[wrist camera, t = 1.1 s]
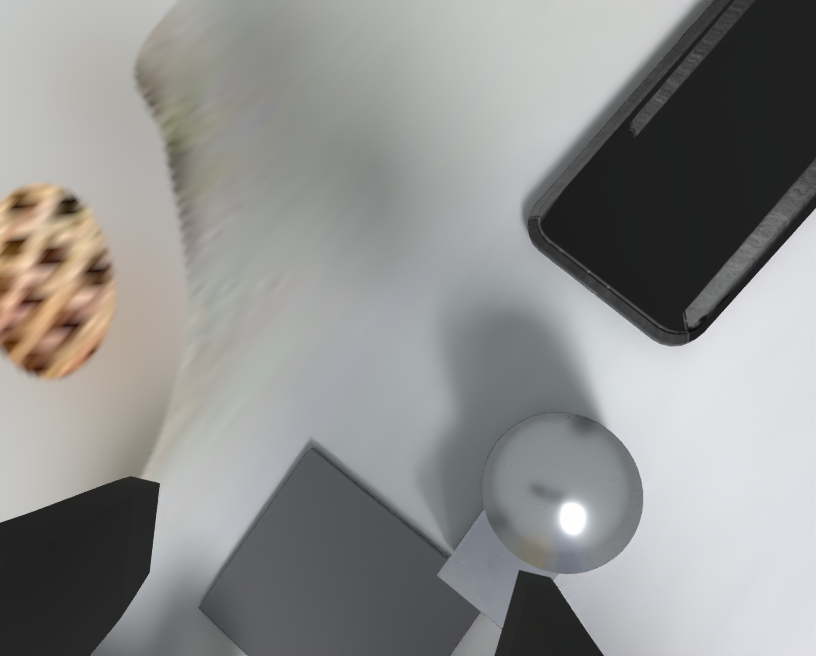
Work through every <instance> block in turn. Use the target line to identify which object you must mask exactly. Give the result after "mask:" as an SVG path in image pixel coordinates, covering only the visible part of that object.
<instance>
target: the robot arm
mask: <svg viewBox="0 0 816 656" xmlns="http://www.w3.org/2000/svg"><path fill="white" fill-rule="evenodd" d="M159 487H160V483H156V482H152V481H148V480H144V479H140V478H136V477H127V478H123V479H120V480H117V481H114V482H111V483H108V484H105V485H103V486H100V487H97V488H95V489H92V490H89V491H87V492H84V493H81V494H79V495H76V496H74V497H71V498H68V499H65V500H63V501H60V502H57V503H55V504H52V505H50V506H47V507H44V508H42V509H39V510H36V511H33V512H31V513H28V514H25V515H22V516H19V517H16V518H13V519H10V520H7V521H4V522H1V523H0V656H90V655H91V654H92V652H93V651H94V650H95V649H96V647H97V646H98V645H99V644H100V643H101V641H102V640H103V639H104V638H105V637H106V635H107V634H108V633H109V632H110V631H111V629H112V628H113V627H114V626H115V624H116V623H117V622H118V621H119V619H120V618H121V617H122V615H123V614H124V612H125V610H126V609H127V607H128V606H129V604H130V603H131V601H132V600H133V598H134V597H135V595H136V594H137V592H138V590H139V589H140V587H141V586H142V584H143V582H144V581H145V579H146V578H147V576H148V574H149V573H150V564H151V556H152V547H153V539H154V530H155V521H156V513H157V504H158V495H159ZM495 656H604V655H603V654H602V652H601V651H600V650H599V648H598V647H597V645H596V644H595V643H594V641H593V640H592V638H591V637H590V635H589V634H588V632H587V631H586V630H585V628H584V627H583V625H582V624H581V622H580V621H579V619H578V618H577V616H576V615H575V613H574V612H573V610H572V609H571V607H570V606H569V604H568V603H567V601H566V600H565V598H564V597H563V595H562V593H561V592H560V590H559V589H558V587H557V586H556V584H555V583H554V582H553V580H552V579H551V577H547V576H543V575H539V574H534V573H530V572H526V571H522V570H519V572H518V575H517V579H516V582H515V586H514V589H513V593H512V596H511V600H510V604H509V607H508V611H507V614H506V618H505V621H504V625H503V628H502V632H501V635H500V639H499V643H498V646H497V650H496V653H495Z"/></svg>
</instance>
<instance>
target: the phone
mask: <svg viewBox="0 0 816 656" xmlns="http://www.w3.org/2000/svg"><path fill="white" fill-rule="evenodd" d="M815 208H816V0H714V2H713V3H712V4H711V5H710V6H709V7H708V8H707V10H706V11H705V12H704V13H703V14H702V15H701V16H700V18H699V19H698V20H697V21H696V22H695V23H694V24H693V25H692V26H691V27H690V28H689V29H688V31H687V32H686V33H685V34H684V35H683V36H682V37H681V39H680V40H679V42H678V43H677V44H676V45H675V46H674V47H673V48H672V50H671V51H670V52H669V53H668V54H667V55H666V56H665V57H664V59H663V60H662V61H661V62H660V63H659V64H658V65H657V67H656V68H655V69H654V70H653V71H652V72H651V73H650V75H649V76H648V77H647V78H646V79H645V80H644V81H643V83H642V84H641V85H640V86H639V87H638V88H637V89H636V91H635V92H634V93H633V94H632V95H631V96H630V97H629V99H628V100H627V101H626V102H625V103H624V104H623V105H622V107H621V108H620V109H619V110H618V111H617V112H616V113H615V115H614V116H613V117H612V118H611V119H610V120H609V121H608V123H607V124H606V125H605V126H604V127H603V128H602V129H601V131H600V132H599V133H598V134H597V135H596V136H595V137H594V139H593V140H592V141H591V142H590V143H589V144H588V145H587V147H586V148H585V149H584V150H583V151H582V152H581V153H580V155H579V156H578V157H577V158H576V159H575V160H574V161H573V163H572V164H571V165H570V166H569V167H568V168H567V169H566V171H565V172H564V173H563V174H562V175H561V176H560V177H559V179H558V180H557V181H556V182H555V183H554V184H553V185H552V187H551V188H550V189H549V190H548V191H547V192H546V193H545V195H544V196H543V197H542V198H541V199H540V200H539V201H538V203H537V204H536V205H535V206H534V208H533V210H532V211H531V213H530V216H529V220H528V226H529V236H530V239H531V241H532V243H533V245H534V246H535V247H536V248H537V249H538V250H539V251H540V252H541V253H542V254H544V255H545V256H546V257H547V258H549V259H550V260H551V261H553V262H554V263H555V264H556V265H558V266H559V267H560V268H562V269H563V270H564V271H565V272H567V273H568V274H569V275H570V276H572V277H573V278H574V279H576V280H577V281H578V282H579V283H581V284H582V285H583V286H585V287H586V288H587V289H588V290H590V291H591V292H592V293H593V294H595V295H596V296H597V297H599V298H600V299H601V300H602V301H604V302H605V303H606V304H607V305H609V306H610V307H611V308H613V309H614V310H615V311H616V312H618V313H619V314H620V315H622V316H623V317H624V318H625V319H627V320H628V321H629V322H630V323H632V324H633V325H634V326H636V327H637V328H638V329H639V330H641V331H642V332H643V333H645V334H646V335H647V336H648V337H650V338H651V339H652V340H654V341H656V342H658V343H660V344H663V345H667V346H681V345H684V344H687V343H689V342H692V341H693V340H695V339H696V338H698V337H699V336H700V335H701V334H703V333H704V332H705V331H706V330H707V328H708V327H709V326H710V325H711V324H712V323H713V322H714V321H715V320H716V318H717V317H718V316H719V315H720V314H721V313H722V312H723V311H724V309H725V308H726V307H727V306H728V305H729V304H730V303H731V302H732V301H733V299H734V298H735V297H736V296H737V295H738V294H739V293H740V292H741V291H742V289H743V288H744V287H745V286H746V285H747V284H748V283H749V282H750V281H751V279H752V278H753V277H754V276H755V275H756V274H757V273H758V272H759V271H760V269H761V268H762V267H763V266H764V265H765V264H766V263H767V262H768V261H769V259H770V258H771V257H772V256H773V255H774V254H775V253H776V252H777V251H778V249H779V248H780V247H781V246H782V245H783V244H784V243H785V242H786V241H787V239H788V238H789V237H790V236H791V235H792V234H793V233H794V232H795V231H796V229H797V228H798V227H799V226H800V225H801V224H802V223H803V222H804V221H805V219H806V218H807V217H808V216H809V215H810V214H811V213H812V212H813V211H814V209H815ZM551 258H552V259H551Z"/></svg>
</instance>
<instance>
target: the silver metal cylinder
mask: <svg viewBox="0 0 816 656" xmlns="http://www.w3.org/2000/svg"><path fill="white" fill-rule="evenodd" d="M482 500H483V505H484V509H483V510H482V512H481V513H480V515H479V516H478V518H477V519H476V520H475V522H474V523H473V525H472V526H471V527H470V529H469V530H468V532H467V533H466V535H465V536H464V537H463V539H462V540H461V542H460V543H459V545H458V546H457V547H456V549H455V550H454V552H453V553H452V555H451V556H450V557H449V559H448V560H447V562H446V563H445V565H444V566H443V567H442V569H441V570H440V572H439V573H438V574H437V576H439V577H440V578H441V579H442V580H443V581H445V582H446V583H447V584H448V585H449V586H451V587H452V588H453V589H454V590H455V591H457V592H458V593H459V594H460V595H461V596H463V597H464V598H465V599H466V600H468V601H469V602H470V603H471V604H472V605H474V606H475V607H476V608H477V609H478V610H480V611H481V612H482V613H483V614H484V615H486V616H487V617H488V618H489V619H490V620H492V621H493V622H494V623H495V624H496V625H498V626H499V627H500V628H501V629H502V628H503V625H504V621H505V618H506V614H507V611H508V607H509V604H510V600H511V596H512V593H513V589H514V586H515V582H516V579H517V575H518V572H519V570H522V571H526V572H530V573H534V574H539V575H543V576H547V577H551V579H552V580H554V578H555V577H556V575H557V574H558V573H562V574H573V573H581V572H586V571H590V570H593V569H596V568H598V567H600V566H602V565H604V564H606V563H608V562H609V561H611V560H612V559H614V558H615V557H616V556H617V555H618V554H619V553H620V552H622V551H623V549H624V548H625V547H626V546H627V545H628V543H629V542H630V540H631V539H632V537H633V535H634V534H635V532H636V529H637V527H638V525H639V522H640V518H641V514H642V507H643V489H642V482H641V478H640V475H639V471H638V469H637V466H636V464H635V462H634V459H633V458H632V456H631V454H630V453H629V451H628V450H627V448H626V447H625V446H624V445H623V443H622V442H621V441H620V440H619V439H618V438H617V437H616V436H615V435H614V434H613V433H612V432H610V431H609V430H608V429H606V428H605V427H603V426H602V425H600V424H598V423H597V422H595V421H593V420H590V419H588V418H586V417H582V416H579V415H575V414H569V413H545V414H540V415H536V416H533V417H530V418H527V419H525V420H523V421H521V422H519V423H517V424H516V425H514V426H513V427H512V428H510V429H509V430H508V431H507V432H506V433H505V434H504V435H502V436H501V438H500V439H499V440H498V441H497V443H496V444H495V445H494V447H493V449H492V450H491V452H490V454H489V456H488V459H487V461H486V464H485V467H484V471H483V477H482Z"/></svg>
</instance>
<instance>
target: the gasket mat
mask: <svg viewBox="0 0 816 656" xmlns="http://www.w3.org/2000/svg"><path fill="white" fill-rule="evenodd" d="M448 559H449V558H448V557H446V556H445V555H444V554H443V553H441V552H440V551H439V550H438V549H437V548H435V547H434V546H433V545H432V544H430V543H429V542H428V541H427V540H425V539H424V538H423V537H422V536H421V535H419V534H418V533H417V532H416V531H414V530H413V529H412V528H411V527H409V526H408V525H407V524H406V523H405V522H403V521H402V520H401V519H400V518H398V517H397V516H396V515H395V514H393V513H392V512H391V511H390V510H389V509H387V508H386V507H385V506H384V505H382V504H381V503H380V502H379V501H377V500H376V499H375V498H374V497H373V496H371V495H370V494H369V493H368V492H366V491H365V490H364V489H363V488H361V487H360V486H359V485H358V484H357V483H355V482H354V481H353V480H352V479H350V478H349V477H348V476H347V475H345V474H344V473H343V472H342V471H341V470H339V469H338V468H337V467H336V466H334V465H333V464H332V463H331V462H329V461H328V460H327V459H326V458H325V457H323V456H322V455H321V454H320V453H318V452H317V451H316V450H315V449H314V448H310V449H309V450H308V451H307V453H306V454H305V456H304V457H303V459H302V460H301V461H300V463H299V464H298V466H297V467H296V469H295V470H294V471H293V473H292V474H291V476H290V477H289V479H288V480H287V481H286V483H285V484H284V486H283V487H282V489H281V490H280V491H279V493H278V494H277V496H276V497H275V499H274V500H273V501H272V503H271V504H270V506H269V507H268V509H267V510H266V511H265V513H264V514H263V516H262V517H261V519H260V520H259V522H258V523H257V524H256V526H255V527H254V529H253V530H252V532H251V533H250V534H249V536H248V537H247V539H246V540H245V542H244V543H243V544H242V546H241V547H240V549H239V550H238V552H237V553H236V554H235V556H234V557H233V559H232V560H231V562H230V563H229V564H228V566H227V567H226V569H225V570H224V572H223V573H222V574H221V576H220V577H219V579H218V580H217V582H216V583H215V584H214V586H213V587H212V589H211V590H210V592H209V593H208V594H207V596H206V597H205V599H204V600H203V602H202V603H201V605H200V606H199V607H198V608H199V609H200V610H201V611H202V612H203V613H204V614H205V615H206V616H207V617H208V618H209V619H210V620H211V621H212V622H213V623H214V624H215V625H216V626H217V627H218V628H219V629H221V630H222V631H223V632H224V633H225V634H226V635H227V636H228V637H229V638H230V639H231V640H232V641H233V642H234V643H235V644H236V645H237V646H238V647H239V648H240V649H241V650H242V651H243V652H244V653H245V654H246V655H247V656H450V654H451V653H452V652H453V650H454V649H455V647H456V646H457V645H458V643H459V642H460V640H461V639H462V637H463V636H464V635H465V633H466V632H467V630H468V629H469V627H470V626H471V625H472V623H473V622H474V620H475V619H476V618H477V616H478V615H479V613H480V612H481V611H480V610H478V609H477V608H476V607H475V606H474V605H472V604H471V603H470V602H469V601H468V600H466V599H465V598H464V597H463V596H461V595H460V594H459V593H458V592H457V591H455V590H454V589H453V588H452V587H451V586H449V585H448V584H447V583H446V582H445V581H443V580H442V579H441V578H440V577H439V576H437V574H438V573H439V572H440V570H441V569H442V567H443V566H444V565H445V563H446V562H447V560H448Z"/></svg>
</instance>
